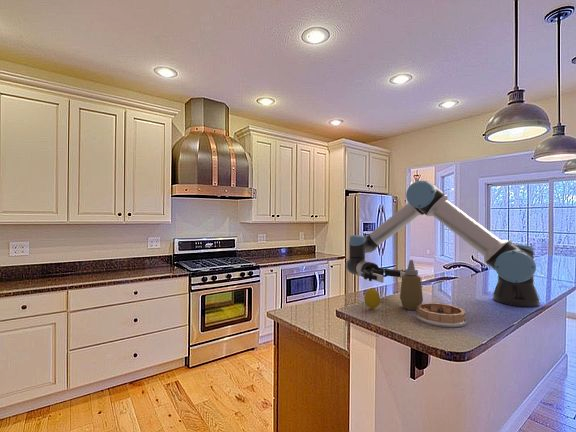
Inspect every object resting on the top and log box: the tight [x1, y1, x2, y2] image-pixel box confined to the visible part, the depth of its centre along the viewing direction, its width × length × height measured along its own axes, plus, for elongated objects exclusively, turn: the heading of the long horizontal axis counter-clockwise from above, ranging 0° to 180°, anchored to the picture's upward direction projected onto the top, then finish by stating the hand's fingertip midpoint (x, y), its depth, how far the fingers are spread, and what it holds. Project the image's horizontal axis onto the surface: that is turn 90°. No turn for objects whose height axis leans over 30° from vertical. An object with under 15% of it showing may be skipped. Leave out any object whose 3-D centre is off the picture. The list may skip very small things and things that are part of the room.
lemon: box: [364, 287, 381, 310], centre depth 114 cm, size 6×6×8 cm
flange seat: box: [415, 302, 467, 329], centre depth 102 cm, size 15×15×4 cm
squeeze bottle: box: [399, 259, 424, 311], centre depth 116 cm, size 8×8×18 cm
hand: (397, 278), depth 123 cm, fingers open, 13 cm apart
